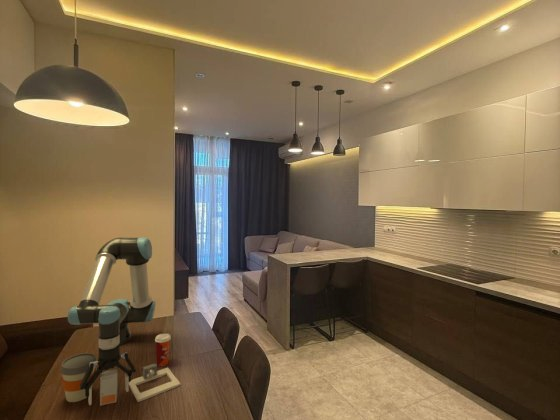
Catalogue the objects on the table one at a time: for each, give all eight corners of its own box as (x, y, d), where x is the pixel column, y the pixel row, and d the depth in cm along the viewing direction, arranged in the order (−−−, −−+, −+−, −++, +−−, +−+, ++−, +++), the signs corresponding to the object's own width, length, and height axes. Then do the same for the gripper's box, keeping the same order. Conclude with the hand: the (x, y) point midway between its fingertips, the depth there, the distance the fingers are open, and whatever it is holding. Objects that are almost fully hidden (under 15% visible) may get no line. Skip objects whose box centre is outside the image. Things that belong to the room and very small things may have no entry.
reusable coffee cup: (91, 402, 122) (91, 366, 122) (55, 407, 119) (55, 370, 118) (100, 383, 134) (100, 351, 134) (67, 388, 131) (67, 354, 130)
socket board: (127, 383, 135) (127, 371, 135) (167, 369, 147) (167, 358, 146) (137, 402, 123) (137, 389, 123) (180, 385, 134) (180, 373, 134)
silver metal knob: (146, 373, 139) (146, 367, 139) (152, 371, 141) (152, 365, 141) (149, 377, 136) (149, 372, 136) (155, 375, 137) (155, 370, 137)
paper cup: (165, 368, 147) (165, 340, 147) (151, 366, 149) (151, 338, 148) (173, 360, 155) (174, 333, 154) (160, 358, 157) (160, 332, 156)
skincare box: (99, 406, 120) (99, 377, 119) (101, 399, 124) (101, 371, 123) (116, 402, 122) (116, 374, 122) (117, 396, 126) (117, 368, 126)
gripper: (73, 359, 111) (73, 415, 112) (143, 340, 127) (143, 389, 128) (71, 351, 117) (71, 404, 118) (138, 334, 133) (138, 380, 134)
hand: (108, 396), depth 123 cm, fingers open, 13 cm apart
